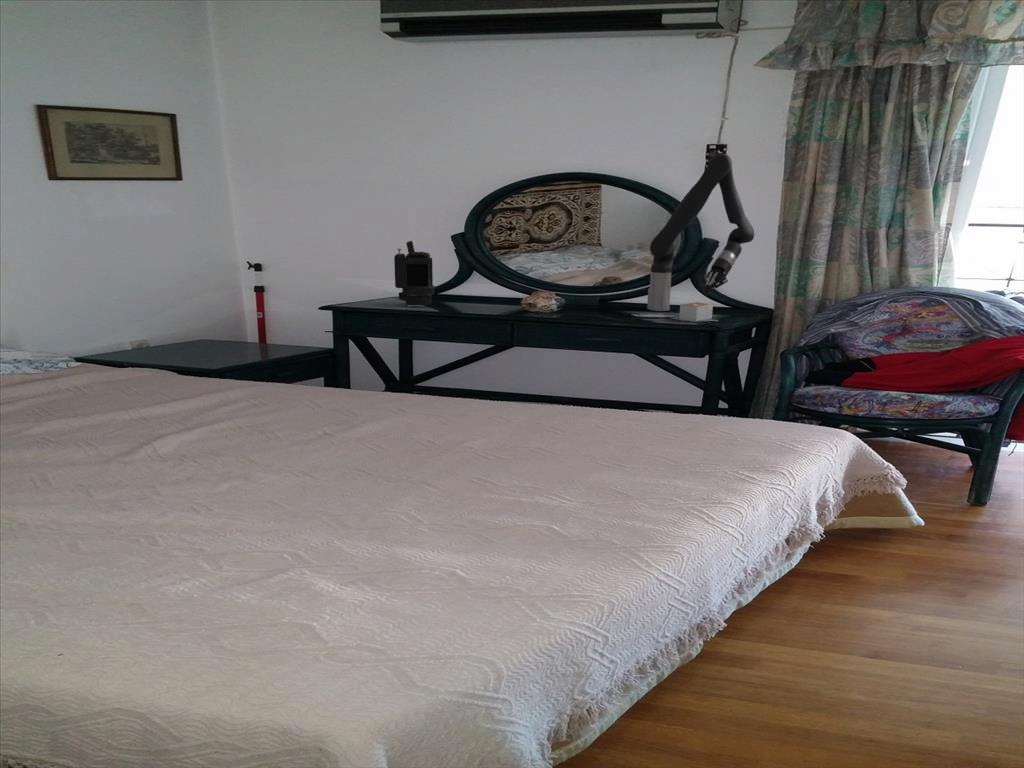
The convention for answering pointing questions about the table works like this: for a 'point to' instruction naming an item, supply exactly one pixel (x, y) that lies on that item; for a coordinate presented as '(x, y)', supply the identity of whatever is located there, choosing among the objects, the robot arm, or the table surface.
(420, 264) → the black boxy device
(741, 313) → the table surface
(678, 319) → the mat
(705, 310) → the small box
